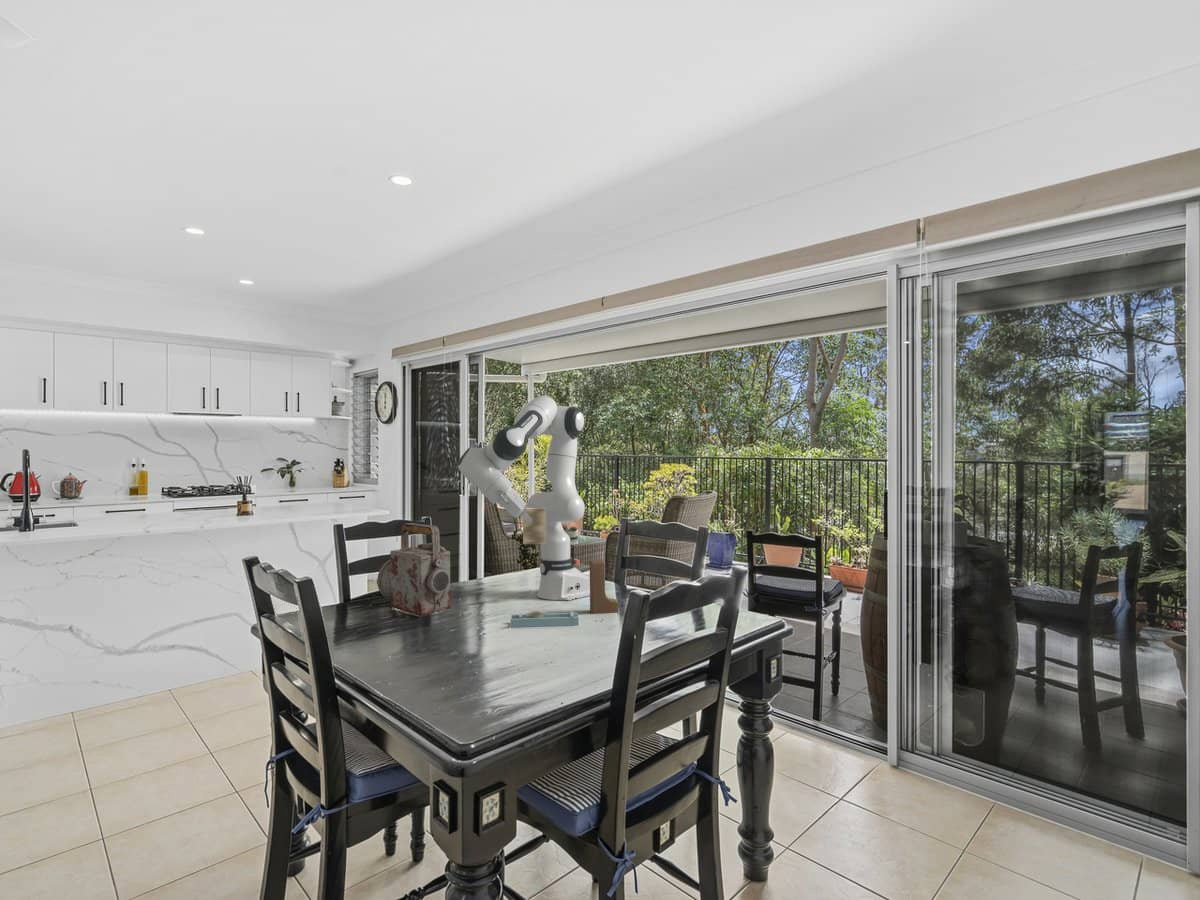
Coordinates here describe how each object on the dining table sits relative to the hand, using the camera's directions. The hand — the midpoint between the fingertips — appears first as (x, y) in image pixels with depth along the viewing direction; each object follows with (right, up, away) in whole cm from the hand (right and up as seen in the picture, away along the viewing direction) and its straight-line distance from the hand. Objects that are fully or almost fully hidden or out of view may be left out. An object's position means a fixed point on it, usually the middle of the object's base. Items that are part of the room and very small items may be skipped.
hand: (531, 521), depth 199 cm
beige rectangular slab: (+1, -7, 0) cm, 7 cm away
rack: (+4, -33, +1) cm, 34 cm away
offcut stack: (+1, -32, 0) cm, 32 cm away
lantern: (-43, -34, +23) cm, 59 cm away
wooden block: (+23, -33, +15) cm, 43 cm away
